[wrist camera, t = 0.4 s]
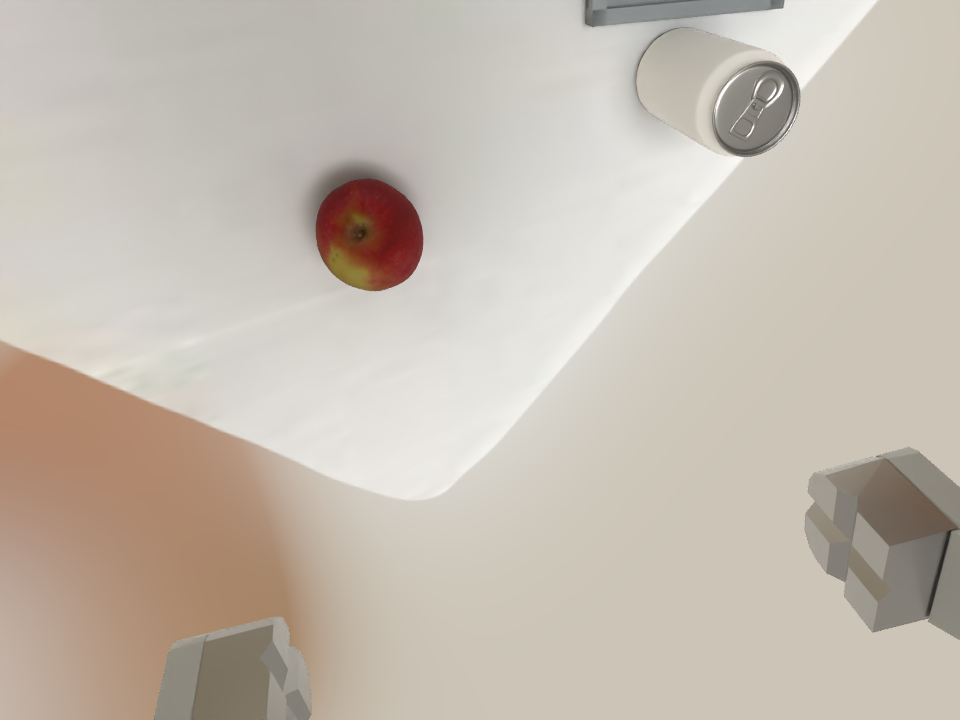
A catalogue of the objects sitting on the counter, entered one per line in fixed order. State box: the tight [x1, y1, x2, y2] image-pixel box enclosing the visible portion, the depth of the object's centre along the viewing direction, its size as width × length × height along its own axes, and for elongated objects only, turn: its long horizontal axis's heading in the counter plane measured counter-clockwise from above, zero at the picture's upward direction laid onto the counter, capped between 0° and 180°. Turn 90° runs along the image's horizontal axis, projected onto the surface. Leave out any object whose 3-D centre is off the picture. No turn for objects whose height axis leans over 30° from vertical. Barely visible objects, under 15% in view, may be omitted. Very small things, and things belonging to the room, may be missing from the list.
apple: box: [316, 179, 423, 291], centre depth 52 cm, size 8×8×8 cm
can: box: [636, 28, 800, 157], centre depth 49 cm, size 6×6×12 cm
